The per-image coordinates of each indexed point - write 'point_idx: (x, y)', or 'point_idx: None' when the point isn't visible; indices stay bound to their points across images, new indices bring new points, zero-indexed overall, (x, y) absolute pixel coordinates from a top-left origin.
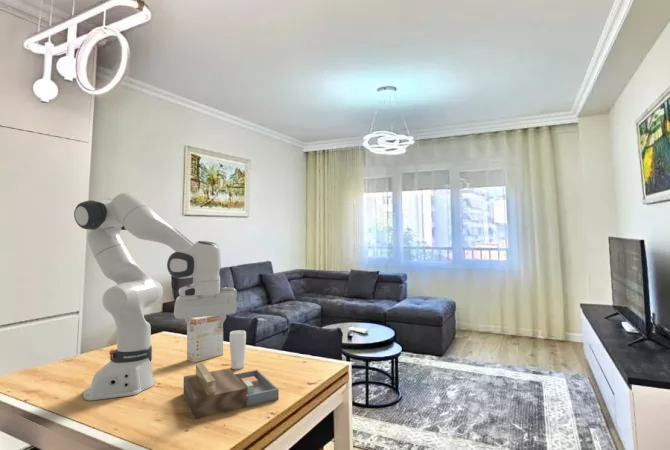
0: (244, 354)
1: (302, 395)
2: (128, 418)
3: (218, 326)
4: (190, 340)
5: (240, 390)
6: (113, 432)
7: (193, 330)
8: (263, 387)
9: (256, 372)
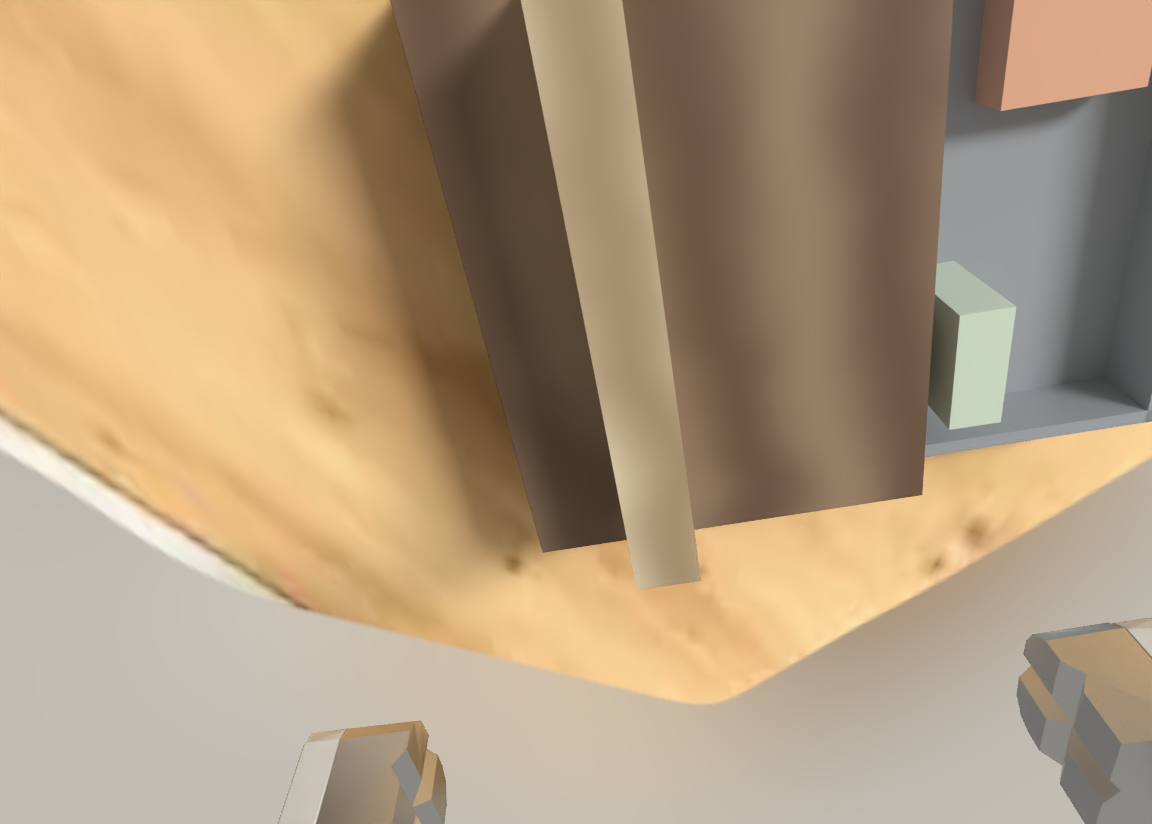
0: None
1: None
2: (116, 329)
3: (1044, 741)
4: None
5: (869, 498)
6: (117, 474)
7: (435, 797)
8: (1131, 143)
9: None
